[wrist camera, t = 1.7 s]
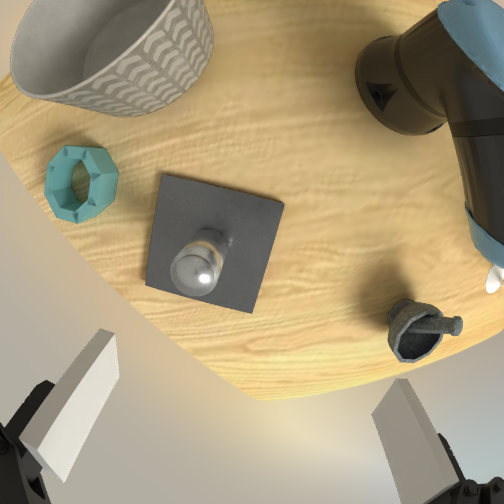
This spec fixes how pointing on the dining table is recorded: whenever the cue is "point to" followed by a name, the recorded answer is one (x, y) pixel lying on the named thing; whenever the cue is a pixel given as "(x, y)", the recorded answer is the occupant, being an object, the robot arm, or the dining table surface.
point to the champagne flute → (494, 279)
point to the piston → (211, 242)
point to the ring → (61, 180)
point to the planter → (111, 53)
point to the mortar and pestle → (418, 329)
